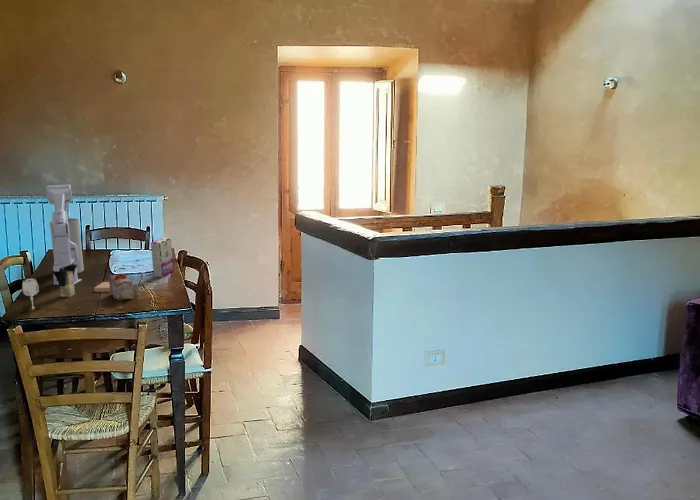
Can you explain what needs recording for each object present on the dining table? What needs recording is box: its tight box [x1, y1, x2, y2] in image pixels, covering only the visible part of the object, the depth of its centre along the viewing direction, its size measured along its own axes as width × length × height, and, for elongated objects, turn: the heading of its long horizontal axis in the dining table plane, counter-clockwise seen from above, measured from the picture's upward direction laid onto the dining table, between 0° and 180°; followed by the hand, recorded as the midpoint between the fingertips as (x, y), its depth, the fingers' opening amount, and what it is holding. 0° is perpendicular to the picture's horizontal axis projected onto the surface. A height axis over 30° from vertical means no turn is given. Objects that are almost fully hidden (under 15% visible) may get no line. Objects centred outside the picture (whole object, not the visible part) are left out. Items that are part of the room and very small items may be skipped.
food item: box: [108, 273, 134, 302], centre depth 272 cm, size 14×8×10 cm, turn 35°
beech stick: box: [59, 271, 76, 298], centre depth 276 cm, size 4×4×10 cm
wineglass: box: [21, 278, 40, 309], centre depth 256 cm, size 6×6×12 cm
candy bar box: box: [150, 237, 175, 278], centre depth 308 cm, size 11×5×16 cm, turn 168°
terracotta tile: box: [93, 281, 110, 293], centre depth 286 cm, size 2×9×7 cm
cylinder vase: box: [49, 217, 85, 274], centre depth 313 cm, size 12×12×25 cm
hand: (66, 284), depth 276 cm, fingers open, 6 cm apart
